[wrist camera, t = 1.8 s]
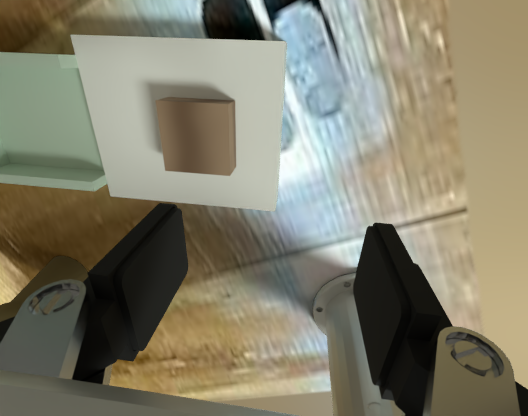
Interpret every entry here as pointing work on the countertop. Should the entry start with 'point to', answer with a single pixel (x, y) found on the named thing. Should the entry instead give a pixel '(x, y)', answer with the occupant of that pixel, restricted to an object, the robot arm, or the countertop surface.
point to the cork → (45, 282)
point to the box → (46, 124)
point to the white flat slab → (184, 86)
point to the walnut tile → (197, 135)
